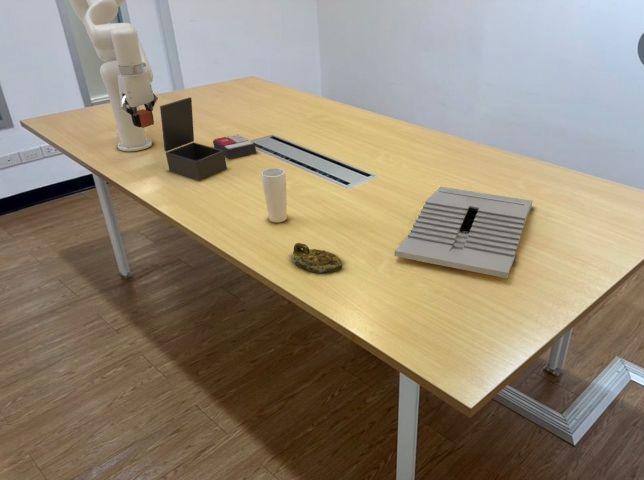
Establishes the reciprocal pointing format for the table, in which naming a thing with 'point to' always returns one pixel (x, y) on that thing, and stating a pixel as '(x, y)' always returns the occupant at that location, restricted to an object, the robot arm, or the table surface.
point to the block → (145, 118)
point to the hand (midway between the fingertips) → (144, 123)
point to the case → (196, 161)
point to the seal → (315, 259)
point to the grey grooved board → (467, 231)
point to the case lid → (177, 123)
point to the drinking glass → (275, 193)
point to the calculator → (234, 146)
